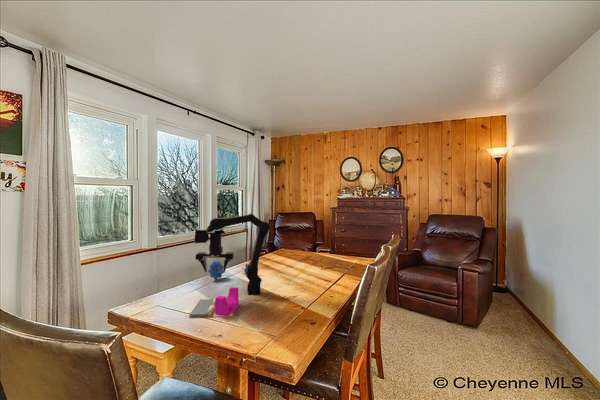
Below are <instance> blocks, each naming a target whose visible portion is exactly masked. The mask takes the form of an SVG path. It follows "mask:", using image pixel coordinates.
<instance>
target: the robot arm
mask: <svg viewBox="0 0 600 400" xmlns="http://www.w3.org/2000/svg"><path fill="white" fill-rule="evenodd" d="M249 222H250V223H251V224H253V225H254V226H255V227H256V228H255V229H256V231H255V233H256V238H255V240H254V246H253V249H252V253H251V256H250V257H251V258H250V261H249V263H246V264H245V267H244V269H243V271H244V275H245V277H246V279H247V280H248V283H247V287H246V288H247V295H252V296H253V295H261V283H262V278H261V277H260V275H259V261H260V256H261V253H262V248H263V245H264V241H265V238H266V237H267V235H268V233H269V231H270V224H269V222H266V221H263V220H261V219H260V218H258V217H256V216H255V215H254V214H252V213H248V214H244V215H239V216H238V215H237V216H233V217H231V216H230V217H213V218H212V219H210V220H209V225H208V226H207V227H206V229H195V230H194V244H207V242H208V241H209V247H208V248H209V249H208V251H209V253H206V251H198V253H196V254H195V260H196V261H197V260H198V261H197V262H200V264H201V266H202V268H203V270H204V272H205V274H206V273H207V271H208V267H207V266H208V265H207V259H208V258H213V259H216V258H220V259H221V258H222V259H223V258H225V259H224V261H223V266H224V268H223V270H224V273H225V272H226V271H227V270H226V269H227V267H228V264H229V262H231V261H232V260H234V259H235V252H234V251H231V252H230V251H227V252H225V253H223V251H224V250H223V249H224V247H223V246H222V235H223V234H224V235H225V234H226V232H225V231H224V230H223V229H224V228H227V227H228V226H234V225H237V224H244V223H249Z"/></svg>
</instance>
